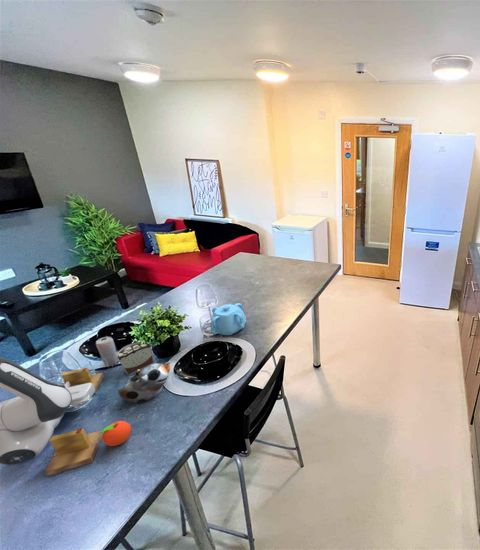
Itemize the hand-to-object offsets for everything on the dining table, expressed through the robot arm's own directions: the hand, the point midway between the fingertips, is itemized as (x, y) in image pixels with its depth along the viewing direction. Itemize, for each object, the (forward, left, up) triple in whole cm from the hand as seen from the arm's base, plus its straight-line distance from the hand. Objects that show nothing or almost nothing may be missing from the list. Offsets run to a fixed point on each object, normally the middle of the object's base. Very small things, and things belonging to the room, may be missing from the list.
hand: (64, 383), depth 104 cm
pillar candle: (+9, +16, -6) cm, 19 cm away
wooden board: (+11, -28, -6) cm, 31 cm away
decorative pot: (+55, +25, -6) cm, 60 cm away
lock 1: (+11, -28, -4) cm, 31 cm away
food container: (+19, +10, -6) cm, 22 cm away
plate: (+3, +3, -6) cm, 7 cm away
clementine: (+21, -28, -6) cm, 36 cm away
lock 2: (+3, +3, -4) cm, 5 cm away
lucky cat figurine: (+26, -7, -6) cm, 28 cm away
